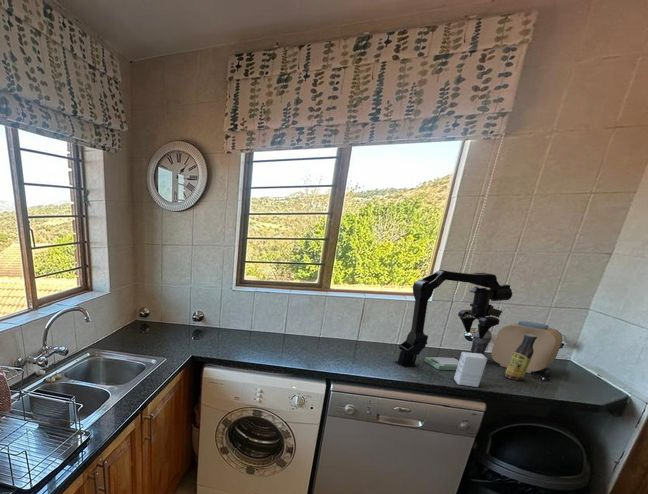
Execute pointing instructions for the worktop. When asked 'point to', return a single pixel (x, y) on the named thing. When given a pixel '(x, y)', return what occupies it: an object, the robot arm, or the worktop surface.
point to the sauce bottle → (521, 358)
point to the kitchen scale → (443, 363)
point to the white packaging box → (470, 369)
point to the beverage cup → (480, 342)
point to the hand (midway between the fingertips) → (474, 335)
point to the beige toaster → (543, 345)
